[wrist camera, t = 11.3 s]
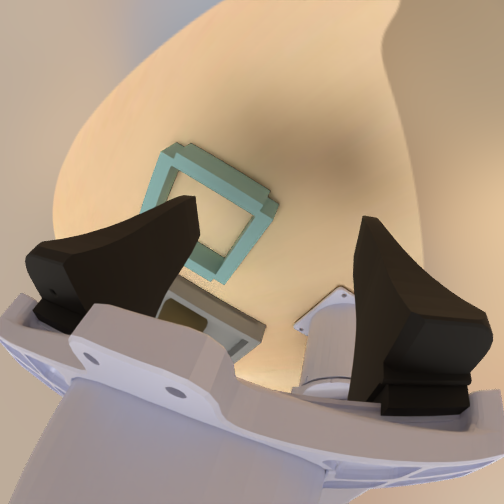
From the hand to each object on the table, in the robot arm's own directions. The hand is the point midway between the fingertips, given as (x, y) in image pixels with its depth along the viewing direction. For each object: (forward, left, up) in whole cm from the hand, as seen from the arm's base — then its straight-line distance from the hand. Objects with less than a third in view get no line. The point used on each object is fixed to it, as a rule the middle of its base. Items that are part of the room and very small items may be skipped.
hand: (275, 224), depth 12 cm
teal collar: (+4, +9, -10) cm, 14 cm away
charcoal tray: (0, +25, -10) cm, 27 cm away
